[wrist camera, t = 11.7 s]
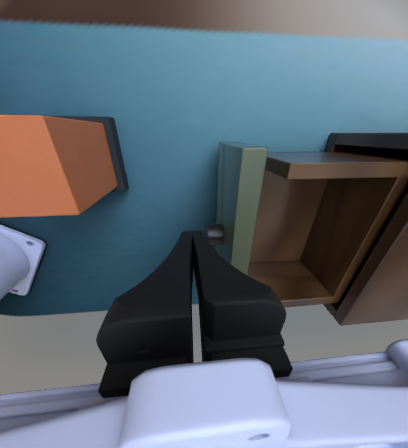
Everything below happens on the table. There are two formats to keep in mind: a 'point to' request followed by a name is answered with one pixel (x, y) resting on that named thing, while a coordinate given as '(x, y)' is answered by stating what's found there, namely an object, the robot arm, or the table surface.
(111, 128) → the coaster
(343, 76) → the table surface
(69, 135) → the block
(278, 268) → the drawer
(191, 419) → the robot arm
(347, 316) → the cabinet
